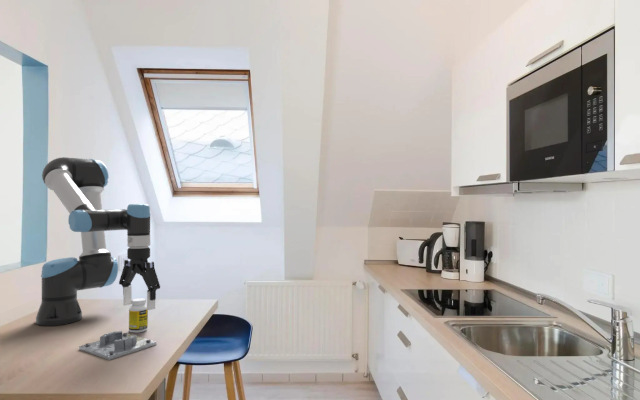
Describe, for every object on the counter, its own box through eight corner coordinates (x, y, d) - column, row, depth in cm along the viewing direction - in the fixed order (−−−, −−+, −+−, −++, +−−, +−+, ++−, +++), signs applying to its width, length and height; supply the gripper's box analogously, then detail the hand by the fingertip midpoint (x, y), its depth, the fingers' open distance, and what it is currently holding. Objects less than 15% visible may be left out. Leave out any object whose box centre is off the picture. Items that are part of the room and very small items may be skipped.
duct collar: (79, 349, 134) (79, 338, 134) (126, 335, 148) (126, 325, 148) (109, 360, 126) (109, 348, 126) (156, 344, 139) (156, 333, 139)
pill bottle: (140, 333, 150) (141, 302, 150) (125, 332, 152) (125, 301, 152) (151, 328, 156) (151, 298, 156) (135, 327, 158) (136, 297, 158)
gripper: (108, 246, 157) (108, 304, 157) (151, 250, 144) (152, 313, 144) (127, 244, 164) (127, 300, 164) (170, 247, 150) (170, 309, 150)
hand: (139, 307), depth 154 cm, fingers open, 13 cm apart
